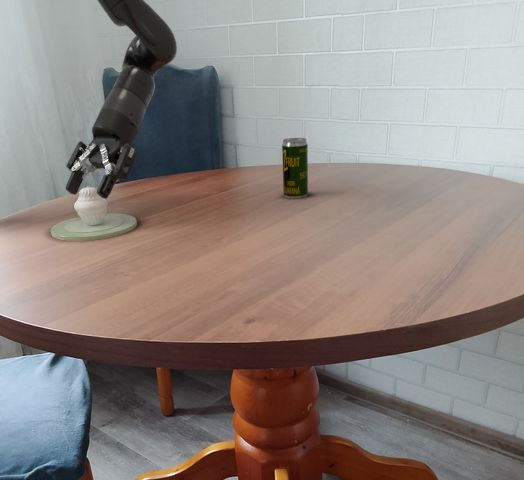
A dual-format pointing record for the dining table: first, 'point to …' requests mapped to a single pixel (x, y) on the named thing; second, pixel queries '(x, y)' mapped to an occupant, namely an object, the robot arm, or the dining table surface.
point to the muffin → (91, 206)
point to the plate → (93, 228)
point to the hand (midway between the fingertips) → (85, 194)
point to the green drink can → (295, 167)
